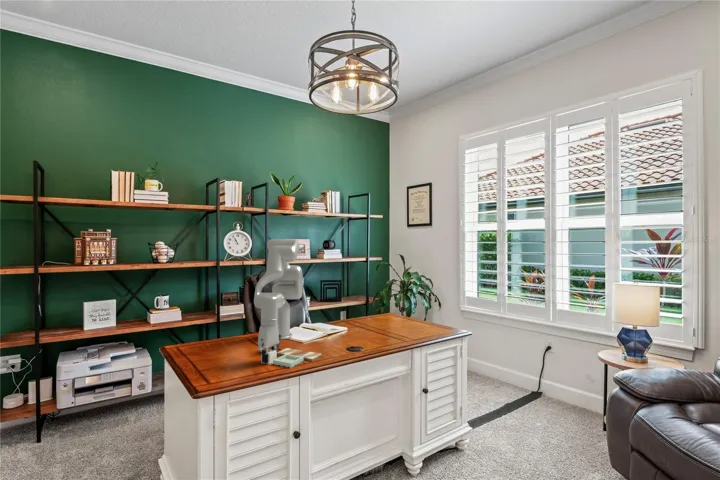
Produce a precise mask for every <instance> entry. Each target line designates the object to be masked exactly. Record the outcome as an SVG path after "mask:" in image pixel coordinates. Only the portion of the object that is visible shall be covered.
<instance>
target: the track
mask: <svg viewBox="0 0 720 480" xmlns="http://www.w3.org/2000/svg"><path fill="white" fill-rule="evenodd" d="M285 354H289V355H294V356H300V357H304V361H306V360H307V361H308V362H311V361H312V362H313V363H314V362H315V361H316V360H318V359H320V358H321V357H323V354H322V353H319V352H315V351H314V352H313V351H307V350H300V349H294V348H289V347H288V348H287V347H286V348H284V349H282V350H279V351H278V352H277V356H278V357H281V356H283V355H285ZM314 360H315V361H314ZM307 361H306V362H307Z"/></svg>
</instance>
